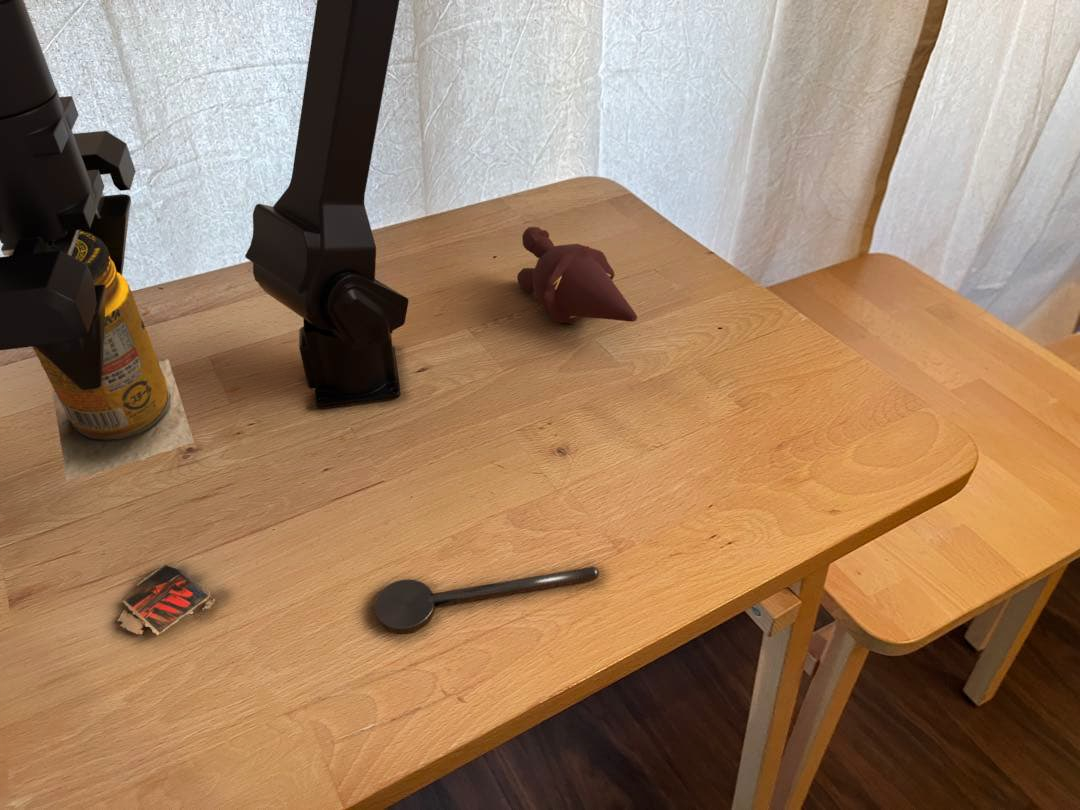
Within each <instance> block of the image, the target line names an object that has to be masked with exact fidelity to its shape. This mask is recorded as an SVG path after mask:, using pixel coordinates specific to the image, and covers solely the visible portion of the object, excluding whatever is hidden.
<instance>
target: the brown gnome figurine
mask: <svg viewBox="0 0 1080 810" xmlns="http://www.w3.org/2000/svg"><path fill="white" fill-rule="evenodd" d="M521 238H522V246H523V247H524V249H525V250H527V251H528V252H529V253H531V254H533V255H534V256H535V257H536V258H537V262H536V264H535V267H523V268H522V269H521V270H520V271H519V272H518V273H517V276H516V278H517V283H518V285H519V286H521V287H522V288H523V289H524V290H526V291H527V292H530V293H534V296H535V299H536V301H537V302H538V304H540V305H541V307H543V308H544V309H545V310H546V311H547V312H548V313H549V316H550V318H551V320H553V321H555V322H560V323H565V324H570V325H575V324H577V323H578V322H580V321H581V320H582V319H585V318H589V319H600V320H601V319H602V320H612V321H613V320H614V321H622V322H636V321H637V319H638V315H637V314H636V312H635V310H634V309H633V307H632V306H631V305H630V303H629V302H628V301H627V300H626V298H625V297H624V295H623V293H622V292H621V291H620V289H619V288H618V287H617V286H616V284H615V283H614V281H613V279H614V277H615V271H614V269H613V268H612V266H611V265H610V263H609V262H608V259H607V256H606V255H605V253H604V252H603V251H602V250H599V249H595V248H592V247H590V246H588V245H584V244H580V243H568V244H560V245H555V244H554V242H553V241H552V240H551V238H550V233H549V232H548V231H547V230H546V229H541V228H540V227H539V226H529V227H526V229H525V230H524V231H523V233H522V235H521Z"/></svg>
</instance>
